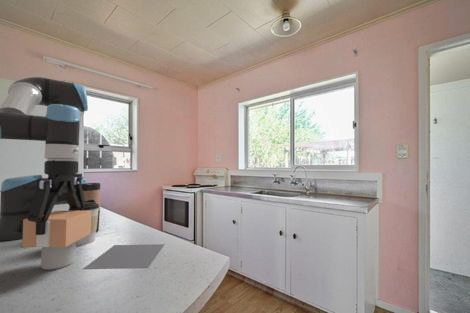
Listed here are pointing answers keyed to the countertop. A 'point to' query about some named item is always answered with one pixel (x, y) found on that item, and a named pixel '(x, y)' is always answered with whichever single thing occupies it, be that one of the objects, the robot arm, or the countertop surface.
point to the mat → (126, 257)
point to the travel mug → (92, 195)
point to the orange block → (60, 228)
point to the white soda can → (57, 256)
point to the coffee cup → (94, 218)
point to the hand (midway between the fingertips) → (59, 239)
